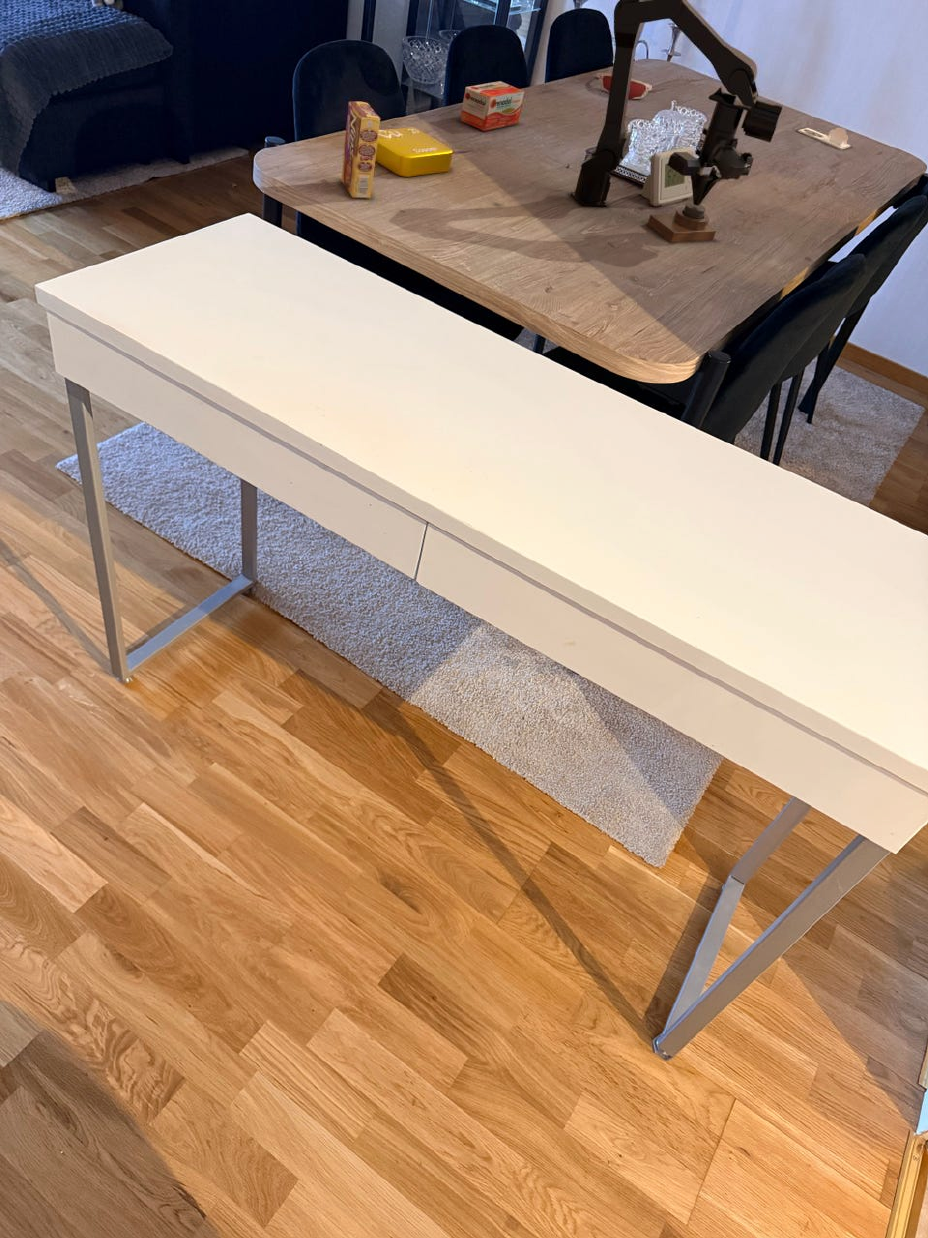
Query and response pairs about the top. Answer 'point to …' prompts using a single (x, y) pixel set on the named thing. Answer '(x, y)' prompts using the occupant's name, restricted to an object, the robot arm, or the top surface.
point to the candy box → (360, 149)
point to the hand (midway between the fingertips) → (696, 204)
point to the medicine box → (492, 105)
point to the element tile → (411, 152)
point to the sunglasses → (636, 87)
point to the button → (694, 211)
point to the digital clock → (666, 180)
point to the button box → (682, 227)
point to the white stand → (829, 137)
